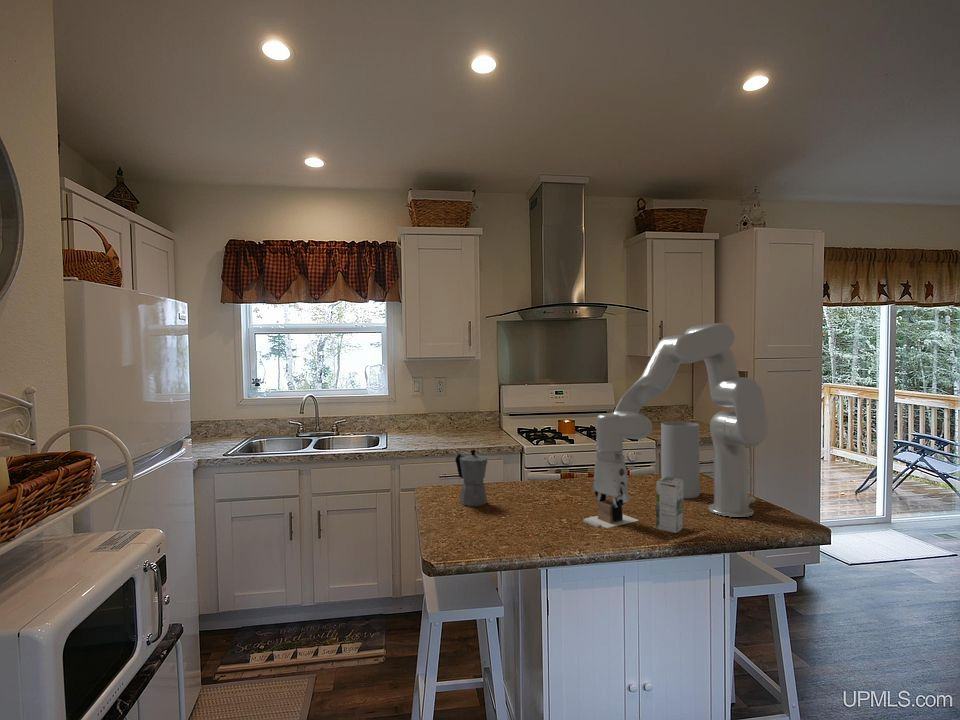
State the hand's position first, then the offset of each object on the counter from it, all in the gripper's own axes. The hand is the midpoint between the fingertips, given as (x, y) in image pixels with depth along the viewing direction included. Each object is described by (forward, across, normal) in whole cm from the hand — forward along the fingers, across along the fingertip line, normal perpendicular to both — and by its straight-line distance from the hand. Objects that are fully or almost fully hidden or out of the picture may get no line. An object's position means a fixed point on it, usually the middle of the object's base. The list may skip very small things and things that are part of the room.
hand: (610, 516), depth 148 cm
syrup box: (+2, -14, -9) cm, 17 cm away
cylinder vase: (+2, +10, -43) cm, 44 cm away
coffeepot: (+2, +40, +25) cm, 47 cm away
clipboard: (+2, 0, 0) cm, 2 cm away
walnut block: (+1, 0, 0) cm, 1 cm away
